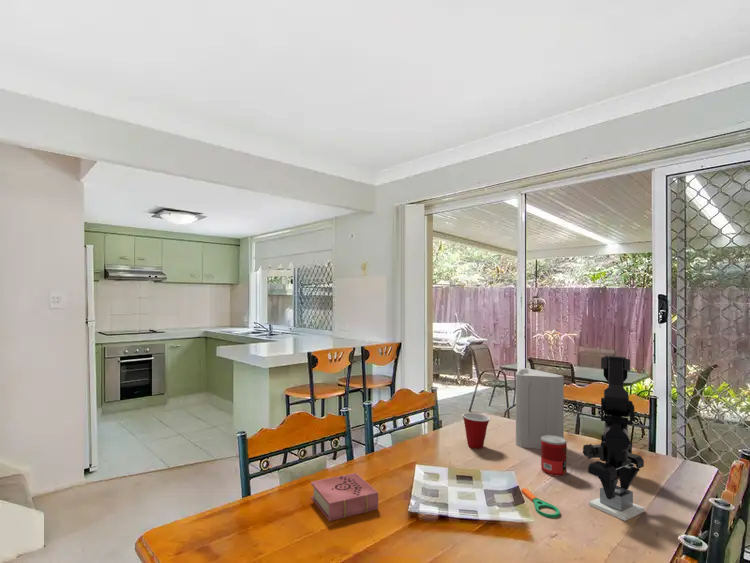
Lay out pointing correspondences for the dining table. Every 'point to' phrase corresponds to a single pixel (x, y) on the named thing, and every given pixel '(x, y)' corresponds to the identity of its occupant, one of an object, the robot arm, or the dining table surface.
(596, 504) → the post block
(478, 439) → the plastic cup
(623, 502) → the square hole block
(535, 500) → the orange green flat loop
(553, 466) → the canned food
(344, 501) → the book
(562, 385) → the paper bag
